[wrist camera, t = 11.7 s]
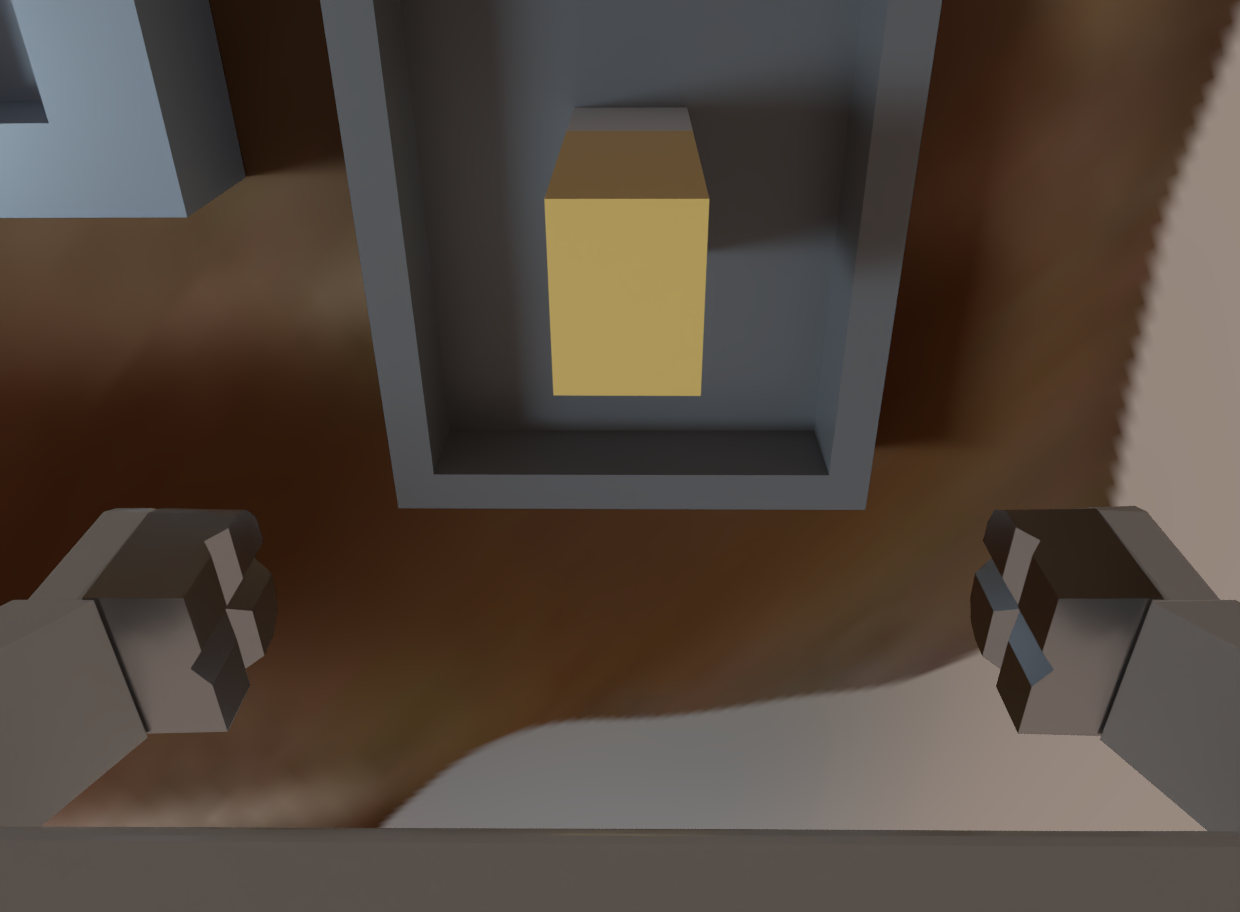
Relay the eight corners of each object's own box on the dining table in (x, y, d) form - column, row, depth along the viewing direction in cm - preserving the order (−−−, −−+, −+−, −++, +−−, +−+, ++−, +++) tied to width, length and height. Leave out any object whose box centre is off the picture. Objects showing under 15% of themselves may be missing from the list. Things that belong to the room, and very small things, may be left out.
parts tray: (333, -212, 22) (284, -230, 19) (930, -218, 22) (978, -239, 19) (421, 450, 31) (398, 508, 28) (842, 450, 31) (865, 509, 28)
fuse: (573, 107, 25) (544, 198, 17) (687, 107, 25) (709, 198, 17) (578, 254, 27) (553, 395, 19) (682, 254, 27) (700, 395, 19)
